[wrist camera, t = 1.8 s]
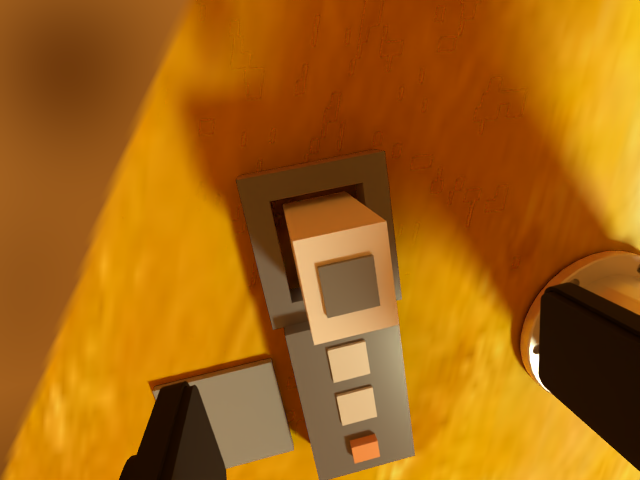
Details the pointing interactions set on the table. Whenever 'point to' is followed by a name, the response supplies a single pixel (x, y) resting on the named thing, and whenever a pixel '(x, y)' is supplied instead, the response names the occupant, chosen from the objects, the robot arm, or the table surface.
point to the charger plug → (342, 266)
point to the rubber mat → (244, 411)
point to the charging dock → (343, 354)
